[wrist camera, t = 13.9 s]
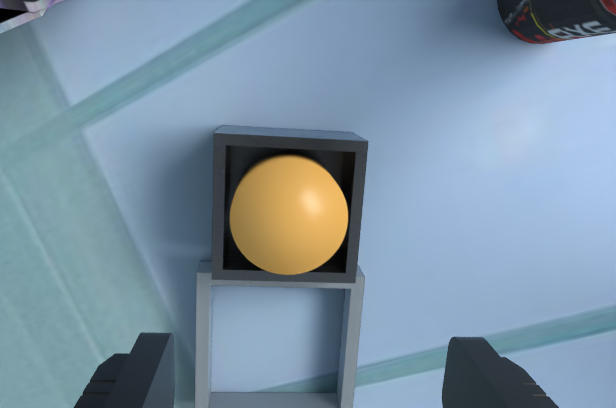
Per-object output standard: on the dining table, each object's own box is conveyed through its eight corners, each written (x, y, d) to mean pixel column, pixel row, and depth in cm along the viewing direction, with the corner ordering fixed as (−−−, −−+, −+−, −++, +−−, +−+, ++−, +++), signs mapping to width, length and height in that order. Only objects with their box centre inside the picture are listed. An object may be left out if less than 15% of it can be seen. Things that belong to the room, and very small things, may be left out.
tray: (359, 265, 33) (364, 277, 31) (346, 402, 35) (351, 421, 33) (200, 261, 32) (196, 272, 30) (199, 402, 34) (194, 421, 32)
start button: (343, 155, 27) (352, 163, 25) (335, 257, 29) (343, 276, 26) (235, 149, 27) (231, 157, 24) (232, 253, 28) (228, 273, 25)
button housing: (352, 132, 31) (368, 141, 26) (342, 253, 33) (355, 283, 28) (222, 125, 30) (214, 132, 25) (219, 250, 32) (211, 279, 27)
